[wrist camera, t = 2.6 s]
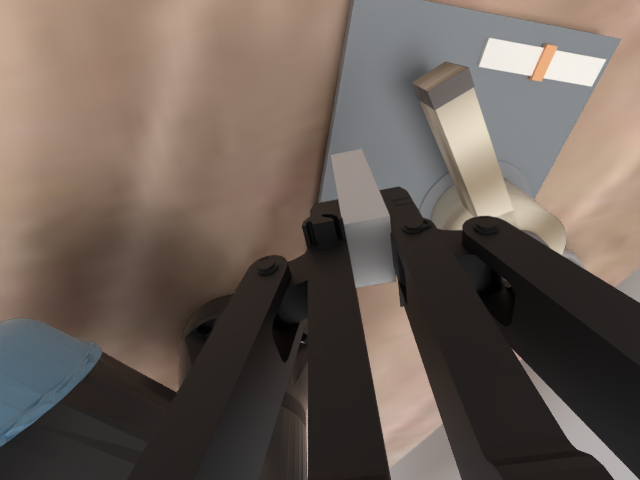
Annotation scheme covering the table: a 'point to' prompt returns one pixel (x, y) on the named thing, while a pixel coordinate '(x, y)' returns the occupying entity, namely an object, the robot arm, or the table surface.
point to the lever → (475, 161)
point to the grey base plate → (490, 87)
